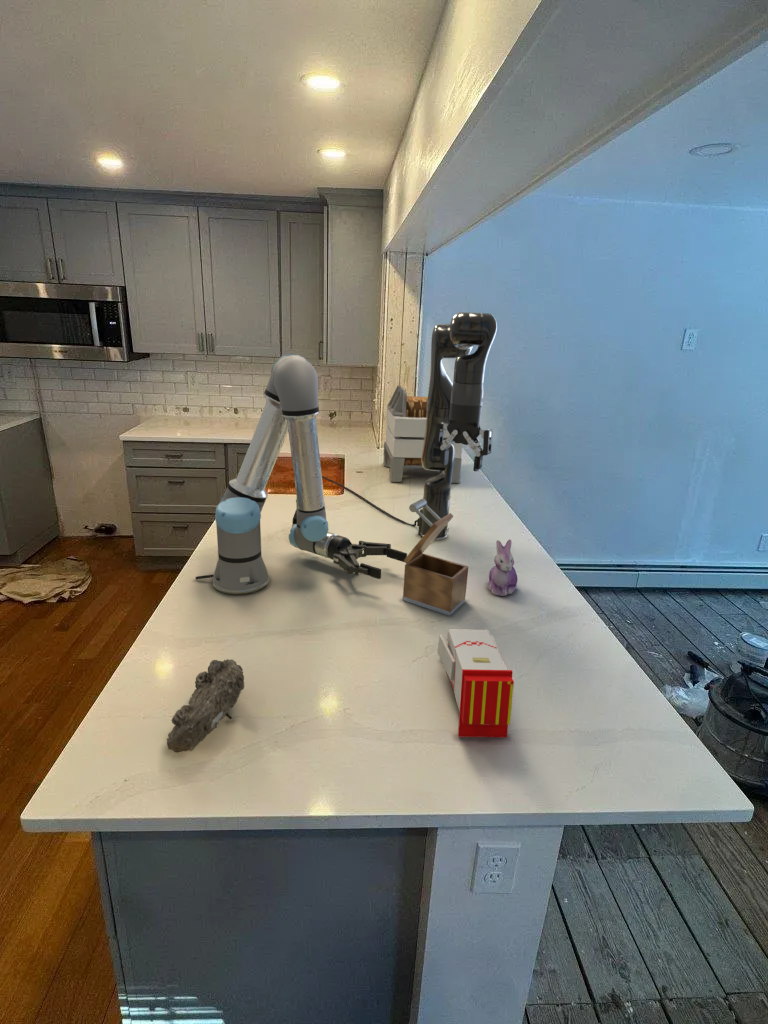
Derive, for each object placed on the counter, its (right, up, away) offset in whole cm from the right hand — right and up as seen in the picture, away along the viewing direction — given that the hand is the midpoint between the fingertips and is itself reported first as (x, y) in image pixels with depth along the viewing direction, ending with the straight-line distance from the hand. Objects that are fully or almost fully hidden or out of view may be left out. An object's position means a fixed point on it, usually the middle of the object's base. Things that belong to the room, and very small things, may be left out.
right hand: (460, 467), depth 140 cm
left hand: (-16, -26, +19) cm, 36 cm away
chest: (-5, -35, +15) cm, 39 cm away
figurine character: (-47, -18, +57) cm, 76 cm away
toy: (-1, -49, -21) cm, 53 cm away
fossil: (-52, -50, -32) cm, 79 cm away
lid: (-7, -18, +10) cm, 22 cm away
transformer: (-2, +8, +135) cm, 135 cm away
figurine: (+15, -33, +23) cm, 43 cm away
